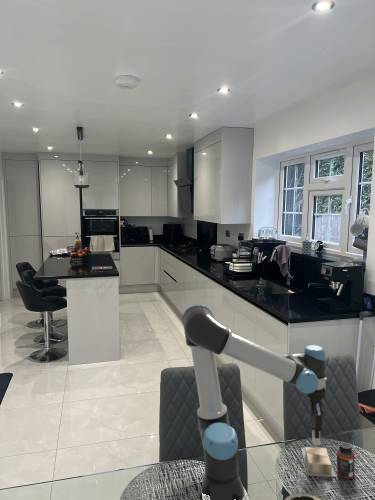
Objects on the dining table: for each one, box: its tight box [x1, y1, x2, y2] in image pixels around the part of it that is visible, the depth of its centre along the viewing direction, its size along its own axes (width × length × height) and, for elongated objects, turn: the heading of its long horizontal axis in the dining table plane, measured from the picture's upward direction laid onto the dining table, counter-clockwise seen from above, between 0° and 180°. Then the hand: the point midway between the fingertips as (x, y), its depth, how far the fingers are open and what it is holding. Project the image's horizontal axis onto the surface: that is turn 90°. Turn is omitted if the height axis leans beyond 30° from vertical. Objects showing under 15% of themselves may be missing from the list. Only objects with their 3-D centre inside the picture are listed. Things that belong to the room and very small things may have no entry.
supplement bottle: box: [336, 441, 356, 480], centre depth 134 cm, size 6×6×11 cm
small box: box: [304, 446, 333, 474], centre depth 140 cm, size 8×4×10 cm
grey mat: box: [300, 447, 337, 478], centre depth 142 cm, size 10×16×1 cm, turn 172°
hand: (316, 443), depth 142 cm, fingers closed
